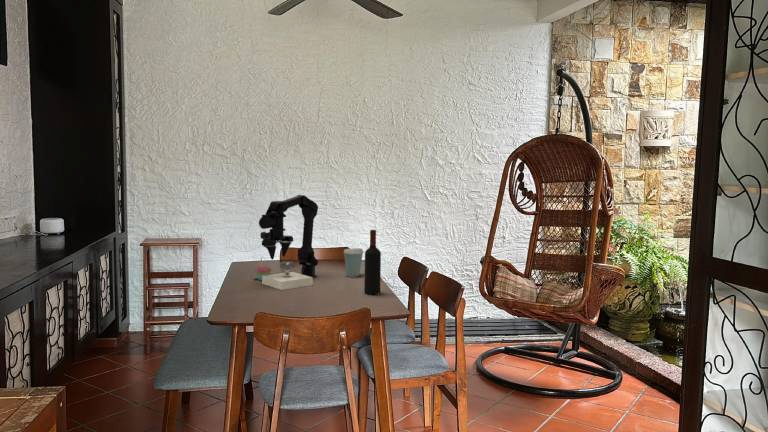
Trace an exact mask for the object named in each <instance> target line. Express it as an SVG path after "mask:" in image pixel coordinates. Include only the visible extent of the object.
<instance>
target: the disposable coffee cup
mask: <svg viewBox="0 0 768 432" xmlns="http://www.w3.org/2000/svg"><path fill="white" fill-rule="evenodd" d="M363 254H364V250H363V248H362V247H360V248H358V247H357V248H355V247H354V248H346V249H344V250H343V258H344V264H345V273H346V276H347V277H348V276H349V277H348V278H358V277H359V276H360V272H361V267H362V262H363V261H362V259H363ZM357 276H358V277H357Z"/></svg>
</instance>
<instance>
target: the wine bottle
mask: <svg viewBox="0 0 768 432" xmlns="http://www.w3.org/2000/svg"><path fill="white" fill-rule="evenodd" d="M369 236H370V237H369V247H368V248H367V249H366V250H365V251H364V285H363V287H364V289H363V290H364V291H363V292H364V293H365V294H364V293H363V294H364V295H366V294H378V293H380V294H381V272H382V271H381V269H382V268H381V267H382V266H381V265H382V264H381V263H382V262H381V261H382V260H381V259H382V258H381V257H382V253H381V251H380V250H379V248H378V247H377V230H376V229H370V230H369Z"/></svg>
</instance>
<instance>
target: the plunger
mask: <svg viewBox="0 0 768 432" xmlns="http://www.w3.org/2000/svg"><path fill="white" fill-rule="evenodd" d="M279 267H280V268H281V269H285V271H284V273H285V275H289V272H290V269H291V268H293V269H294V268H295V262H294V261H281V262H279Z"/></svg>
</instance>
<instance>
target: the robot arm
mask: <svg viewBox="0 0 768 432" xmlns="http://www.w3.org/2000/svg"><path fill="white" fill-rule="evenodd" d="M297 205H298V208H300V210H301V215H302V217H303V230H302V231H303V233H302V242H301V243H302V244H301V246H300V248H298V249H297V255H296V256H297V260H298V262H299V263H298V264H299V265H300V266H301V269H300V271H301V273H300V274H302V275H306V276H309V277H314V278H315V277H316V278H317V275H316V266H318V264H319V261H318V259H317V258H316V256H315V251H314V248H313V247H312V246H313V233H314V232H313V231H314V221H315V218H316V216H317V214H318V211H319V205H318V203H316V202H315V201H314V200H312V199H310V198H309V197H308V196H306V195H305V194H304V195H303V194H298V195H296V196H294V197H290V198H287V199H284V200H273V201H271V202H270V204H269V205H268V207H267V210H266V212H265V214H262V215H261V218H259V221H258V225H259V227H260V228H261V229H262V230H265V229H266V230H267V229H269V231H268V232H266V231H262V232H260V239H261V240H262V241H261V246H263V247H264V248H265V249H267V252H268V255H269V256H270V259H271V260H274V258H275V254H276V249H277V243H279V244H280V245H281V254H282V257H286V254H287V252H288V250H289V248H290V247H291V244H292V243H293V242H294V237H293V236H292V235H284V232H285V231H286V228H284V218H286V217H287V215H286V214H285V212H287V211H288V209H290V208H293V207H295V206H297Z"/></svg>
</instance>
